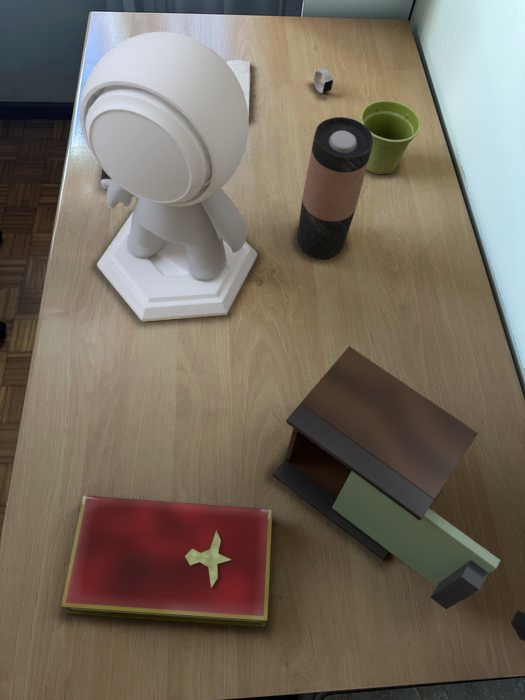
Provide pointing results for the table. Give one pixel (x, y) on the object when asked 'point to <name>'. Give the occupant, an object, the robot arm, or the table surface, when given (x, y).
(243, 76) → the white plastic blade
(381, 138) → the plant pot
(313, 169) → the travel mug
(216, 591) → the hardcover book
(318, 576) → the table surface
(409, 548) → the closet door
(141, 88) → the white cartoon figure
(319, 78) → the smartwatch
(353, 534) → the closet
